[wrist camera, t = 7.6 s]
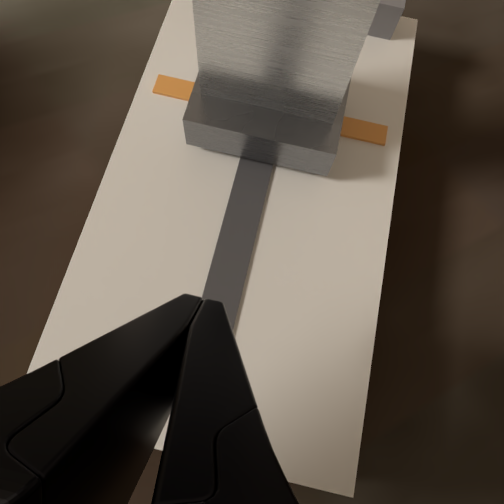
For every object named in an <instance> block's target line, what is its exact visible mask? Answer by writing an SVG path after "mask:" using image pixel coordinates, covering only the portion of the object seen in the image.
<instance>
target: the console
mask: <svg viewBox="0 0 504 504" xmlns="http://www.w3.org/2000/svg"><path fill="white" fill-rule="evenodd" d="M405 1H406V0H380V3H379V5H378V8H377V11H376V13H375V16H374V18H373V21H372V24H371V26H370V29H369V31H368V34H367V37H366V39H365V42H364V44H363V47H362V50H361V52H360V55H359V57H358V60H357V63H356V65H355V68H354V70H353V73H352V76H351V82H350V87H349V92H348V97H347V103H346V108H345V113H344V118H343V124H342V129H341V134H340V139H339V145H338V150H337V155H336V157H335V159H334V162H333V164H332V166H331V168H330V171H329V173H328V175H327V176H322V175H318V174H314V173H309V172H305V171H301V170H296V169H292V168H288V167H283V166H279V165H275V164H270V163H266V162H262V161H257V160H253V159H249V158H244V157H240V156H236V155H231V154H227V153H223V152H218V151H214V150H210V149H205V148H201V147H197V146H192V145H188V144H186V139H185V133H184V126H183V120H182V119H183V116H184V113H185V110H186V107H187V104H188V101H189V98H190V95H191V92H192V89H193V87H194V84H195V81H196V78H197V75H198V72H199V70H198V59H197V48H196V37H195V26H194V15H193V4H192V0H172V2H171V4H170V7H169V9H168V12H167V15H166V17H165V20H164V22H163V25H162V27H161V30H160V33H159V35H158V38H157V40H156V43H155V45H154V48H153V51H152V53H151V56H150V58H149V61H148V63H147V66H146V69H145V71H144V74H143V76H142V79H141V81H140V84H139V87H138V89H137V92H136V94H135V97H134V99H133V102H132V105H131V107H130V110H129V112H128V115H127V117H126V120H125V123H124V125H123V128H122V130H121V133H120V135H119V138H118V141H117V143H116V146H115V148H114V151H113V153H112V156H111V159H110V161H109V164H108V166H107V169H106V171H105V174H104V177H103V179H102V182H101V184H100V187H99V189H98V192H97V195H96V197H95V200H94V202H93V205H92V207H91V210H90V213H89V215H88V218H87V220H86V223H85V225H84V228H83V231H82V233H81V236H80V238H79V241H78V243H77V246H76V249H75V251H74V254H73V256H72V259H71V261H70V264H69V267H68V269H67V272H66V274H65V277H64V279H63V282H62V285H61V287H60V290H59V292H58V295H57V297H56V300H55V303H54V305H53V308H52V310H51V313H50V315H49V318H48V321H47V323H46V326H45V328H44V331H43V333H42V336H41V339H40V341H39V344H38V346H37V349H36V351H35V354H34V357H33V359H32V362H31V364H30V367H29V369H28V372H27V374H28V373H30V372H32V371H34V370H36V369H38V368H40V367H42V366H44V365H46V364H48V363H50V362H52V361H54V360H59V358H60V357H62V356H64V355H66V354H68V353H70V352H72V351H73V350H75V349H77V348H79V347H81V346H83V345H85V344H87V343H89V342H91V341H93V340H95V339H97V338H99V337H101V336H102V335H104V334H106V333H108V332H110V331H112V330H114V329H116V328H118V327H120V326H122V325H124V324H126V323H128V322H130V321H132V320H133V319H135V318H137V317H139V316H141V315H143V314H145V313H147V312H149V311H151V310H153V309H155V308H157V307H159V306H161V305H162V304H164V303H166V302H168V301H170V300H172V299H174V298H176V297H178V296H180V295H182V294H185V293H186V294H191V295H195V296H199V297H202V299H203V300H204V299H211V300H216V301H220V302H223V303H224V306H225V309H226V312H227V315H228V318H229V321H230V324H231V327H232V330H233V333H234V336H235V339H236V342H237V345H238V348H239V351H240V354H241V357H242V360H243V363H244V367H245V370H246V373H247V376H248V379H249V382H250V385H251V388H252V391H253V394H254V397H255V400H256V403H257V406H258V408H257V409H258V410H259V412H260V415H261V418H262V421H263V424H264V427H265V429H266V432H267V435H268V437H269V440H270V443H271V446H272V448H273V451H274V453H275V455H276V457H277V459H278V462H279V464H280V466H281V468H282V470H283V472H284V475H285V477H286V479H287V481H288V482H291V483H295V484H299V485H303V486H307V487H311V488H315V489H319V490H323V491H327V492H331V493H336V494H340V495H344V496H348V497H352V498H353V496H354V489H355V481H356V474H357V466H358V459H359V452H360V444H361V437H362V429H363V422H364V414H365V407H366V400H367V392H368V385H369V377H370V370H371V363H372V355H373V348H374V340H375V333H376V325H377V318H378V311H379V303H380V296H381V288H382V281H383V273H384V266H385V259H386V251H387V244H388V236H389V229H390V222H391V214H392V207H393V199H394V192H395V184H396V177H397V170H398V162H399V155H400V147H401V140H402V133H403V125H404V118H405V110H406V103H407V95H408V88H409V81H410V73H411V66H412V58H413V51H414V43H415V36H416V29H417V21H418V20H416V19H412V18H407V17H403V16H401V15H402V13H403V11H404V8H405ZM169 417H170V415H169ZM168 422H169V418H168V420H167V422H166V424H165V426H164V428H163V430H162V432H161V434H160V436H159V439H158V441H157V443H156V445H155V447H154V449H158V450H162V451H163V446H164V441H165V436H166V432H167V427H168Z"/></svg>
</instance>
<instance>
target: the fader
mask: <svg viewBox="0 0 504 504" xmlns="http://www.w3.org/2000/svg"><path fill="white" fill-rule="evenodd" d="M379 3H380V0H192V4H193V15H194V26H195V37H196V48H197V59H198V70H199V72H198V75H197V78H196V81H195V84H194V87H193V89H192V92H191V95H190V98H189V101H188V104H187V107H186V110H185V113H184V116H183V119H182V120H183V126H184V133H185V139H186V144H188V145H192V146H197V147H201V148H205V149H210V150H214V151H218V152H223V153H227V154H231V155H236V156H240V157H244V158H249V159H253V160H257V161H262V162H266V163H270V164H275V165H279V166H283V167H288V168H292V169H296V170H301V171H305V172H309V173H314V174H318V175H322V176H327V175H328V173H329V171H330V168H331V166H332V164H333V162H334V159H335V157H336V155H337V150H338V145H339V139H340V134H341V129H342V124H343V118H344V113H345V108H346V103H347V97H348V92H349V87H350V82H351V76H352V73H353V70H354V68H355V65H356V63H357V60H358V57H359V55H360V52H361V50H362V47H363V44H364V42H365V39H366V37H367V34H368V31H369V29H370V26H371V24H372V21H373V18H374V16H375V13H376V11H377V8H378V5H379Z"/></svg>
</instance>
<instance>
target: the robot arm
mask: <svg viewBox="0 0 504 504" xmlns="http://www.w3.org/2000/svg"><path fill="white" fill-rule="evenodd" d="M257 408H258V406H257V403H256V400H255V397H254V394H253V391H252V388H251V385H250V382H249V379H248V376H247V373H246V370H245V367H244V363H243V360H242V357H241V354H240V351H239V348H238V345H237V342H236V339H235V336H234V333H233V330H232V327H231V324H230V321H229V318H228V315H227V312H226V309H225V306H224V303H223V302H220V301H216V300H211V299H204V300H203V299H202V297H199V296H195V295H191V294H186V293H185V294H182V295H180V296H178V297H176V298H174V299H172V300H170V301H168V302H166V303H164V304H162V305H161V306H159V307H157V308H155V309H153V310H151V311H149V312H147V313H145V314H143V315H141V316H139V317H137V318H135V319H133V320H132V321H130V322H128V323H126V324H124V325H122V326H120V327H118V328H116V329H114V330H112V331H110V332H108V333H106V334H104V335H102V336H101V337H99V338H97V339H95V340H93V341H91V342H89V343H87V344H85V345H83V346H81V347H79V348H77V349H75V350H73V351H72V352H70V353H68V354H66V355H64V356H62V357H60V358H59V360H54V361H52V362H50V363H48V364H46V365H44V366H42V367H40V368H38V369H36V370H34V371H32V372H30V373H28V374H26V375H24V376H22V377H20V378H18V379H16V380H14V381H12V382H10V383H7V384H5V385H3V386H0V504H128V502H129V500H130V497H131V495H132V493H133V491H134V489H135V487H136V485H137V483H138V481H139V479H140V476H141V474H142V472H143V470H144V468H145V466H146V464H147V462H148V460H149V458H150V455H151V453H152V451H153V449H154V447H155V445H156V443H157V441H158V439H159V436H160V434H161V432H162V430H163V428H164V426H165V424H166V422H167V420H168V418H169V422H168V427H167V432H166V436H165V441H164V446H163V451H162V455H161V460H160V465H159V470H158V474H157V479H156V484H155V489H154V493H153V498H152V503H151V504H299V503H298V501H297V499H296V497H295V495H294V493H293V491H292V489H291V487H290V485H289V483H288V481H287V479H286V477H285V475H284V472H283V470H282V468H281V466H280V464H279V462H278V459H277V457H276V455H275V453H274V451H273V448H272V446H271V443H270V440H269V437H268V435H267V432H266V429H265V427H264V424H263V421H262V418H261V415H260V412H259V410H258V409H257ZM169 415H170V417H169Z"/></svg>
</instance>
